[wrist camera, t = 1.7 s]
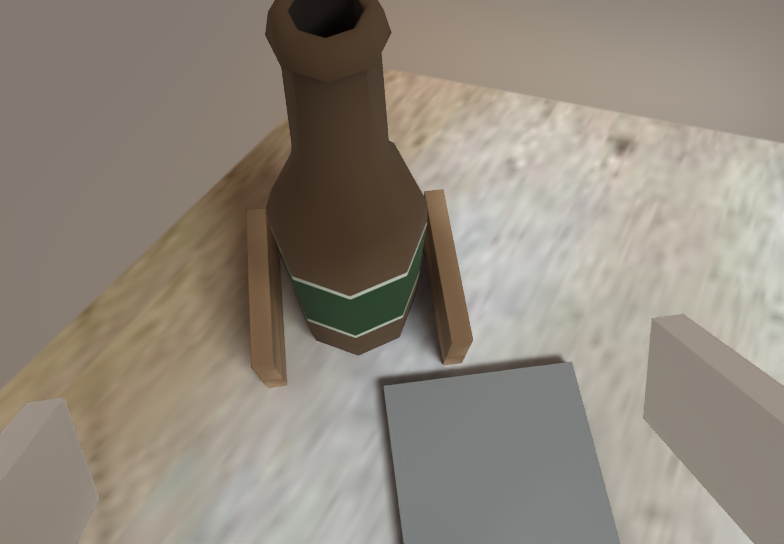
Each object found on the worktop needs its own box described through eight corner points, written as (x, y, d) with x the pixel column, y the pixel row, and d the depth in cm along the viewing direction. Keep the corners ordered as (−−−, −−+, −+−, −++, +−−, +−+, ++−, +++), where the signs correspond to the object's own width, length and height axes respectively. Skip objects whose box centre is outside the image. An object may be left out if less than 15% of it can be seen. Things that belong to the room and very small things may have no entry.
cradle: (433, 212, 41) (440, 173, 37) (461, 363, 37) (473, 339, 32) (260, 231, 40) (245, 193, 36) (267, 387, 36) (251, 367, 31)
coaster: (568, 364, 37) (571, 361, 36) (622, 572, 32) (628, 573, 31) (383, 388, 36) (383, 385, 35) (411, 605, 31) (411, 607, 31)
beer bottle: (411, 248, 40) (448, -86, 18) (418, 356, 37) (473, 110, 15) (300, 252, 40) (201, -84, 18) (297, 360, 37) (173, 117, 15)
